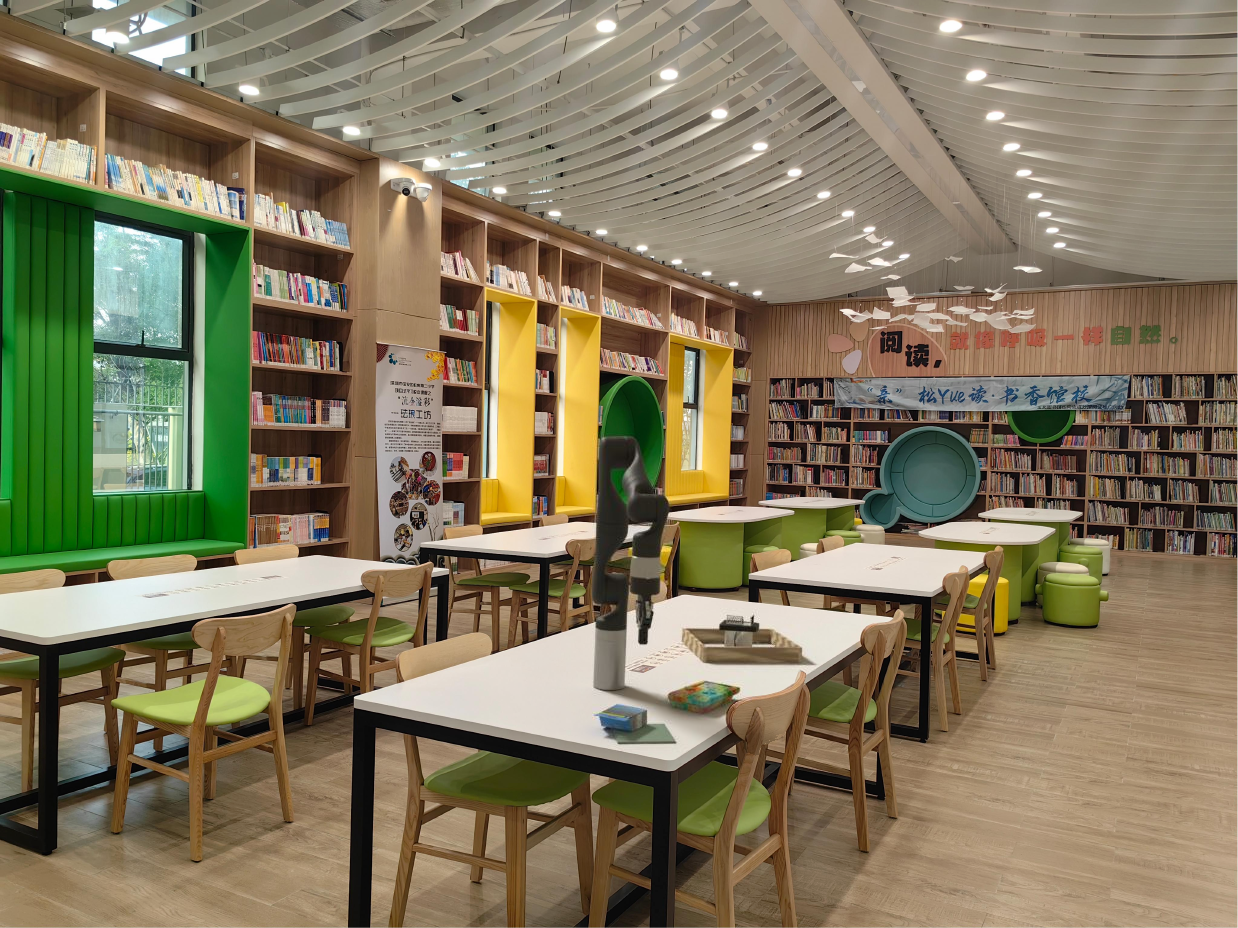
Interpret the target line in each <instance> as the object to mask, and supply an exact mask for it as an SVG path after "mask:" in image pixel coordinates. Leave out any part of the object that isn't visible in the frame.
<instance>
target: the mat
mask: <svg viewBox="0 0 1238 928" xmlns="http://www.w3.org/2000/svg"><path fill="white" fill-rule="evenodd" d="M610 729H611V732H612V735H613V737H614V738H615V740H616V742H617V744H620V745H621V744H676V743H677V740H676V739H675V738H674V736H673V735H672V733H671V732H670V730H669V729H668V726H667V725H666V724H665V723H647V724H646V725H644V726H642V727H640V728H638V729H636V730H635V731H633V732H630V731H625V730H620V729H614V728H610Z"/></svg>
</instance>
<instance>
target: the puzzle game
mask: <svg viewBox="0 0 1238 928" xmlns="http://www.w3.org/2000/svg"><path fill="white" fill-rule="evenodd" d="M740 692H741V687H740V686H735V685H729V684H724V683H719V682H714V681H708V680H701V681H698V682H696V683H692V684H690V685H687V686H684V687H682V688H679V689H677V690H672V691H670V692H669V693H667V700H668V701H669V703H670V704H671V706H672V707H673V708H676V709H681V710H686V711H689V712H690V711H691V712H695V713H700V714H705V713H708V712H710V711H713V710H714V709H717V708H718V707H721V706H723V705H725V704H728V703H729V702H731V701H732V699H733V697H734V696H735V695H737V694H739V693H740Z"/></svg>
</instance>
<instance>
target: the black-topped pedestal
mask: <svg viewBox="0 0 1238 928" xmlns="http://www.w3.org/2000/svg"><path fill="white" fill-rule="evenodd" d="M749 619H750V620H749V621H744V616H742V615H741V616H739V615H735V616H733V615H732V614H731V615H730V614H726V619H724V620H723V621H722V622H720V623H719V625H718V628H719V630H725V642H724V643H723V644H724V645H723V647H753V643H752V639H753V632H757V631H758V629H760V623H759V622H755V614H754V613H753V615H752V616H750V618H749Z"/></svg>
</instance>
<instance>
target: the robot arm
mask: <svg viewBox="0 0 1238 928" xmlns="http://www.w3.org/2000/svg"><path fill="white" fill-rule="evenodd" d="M612 470H613V471H614V470H625V472H624V474H623V476H622V480H621V481H622V482H621V483H622V489H623V490H624V493H625V495H626V498H627V503H626V504H625V501H624V500H623V498H622V497H621V495H620V494H619V492H618V489H616V486H615V483H614V482H613V479H612ZM597 497H598V498H597V506H596V507H597V508H596V509H597V510H596V520H595V522H596V523H595V553H594V554H595V556H594V564H593V571H592V581H591V582H592V583H591V599H592V601H593V603H594V604H595V605H600V606H603V605H604V606H616V608H614V609H613V610H612V611H610V612H608V613H605V614H602V615H600V616H597V618H596V619H595V629H594V630H595V631H594V632H595V633H594V656H593V657H594V660H593V682H592V683H593V685H592V686H593V687H594V688H595V689H599V690H604V691H617V690H622V689H624V688H625V685H626V683H625V682H626V681H625V680H626V658H627V656H626V655H627V631H628V608H629V607H628V605H629V595H630V593H631V594H633V595H637V599H635V601H634V606H635V618H636V619H635V622H636V624H637V629H638V632H637V633H638V634H637V637H638V638H637V642H638V644H639V645H641V646H642V645H645V646H646V645H648V643H649V640H648V639H649V630H650V629H651V628H652V622H653V619H654V614H655V612H654V602H653V601H652V597H653V596H657V595H659V594H660V593H661V576H662V575H661V573H662V571H661V569H662V567H661V566H662V565H661V546H662V545H661V544H662V543H661V542H662V537H663V533H664V529H665V527H666V526H665V525H666V523H667V520H668V517H669V513H670V503H669V500H668V498H667V496H665V495H663V494H661V493H660V494H659V493H658V494H657V493H655V490H654V487H653V485H652V482H651V481H650V479H649V477H648V475H647V471H646V468H645V464H644V457H643V455H642V451H641V447H640V443H639V442H638V440H637V439H636V438H635V437H633V436H627V435H625V436H623V435H622V436H619V435H617V436H604V437H602V438H601V439H600V441H599V445H598V495H597ZM630 520H631V521H633V522H635V523H652V524H651V525H650V527H649V528H648V529H646V530H643V531H639V532H636V533H634V534H633V536H632V549H631V562H630V571H629V576H628V574H626V573H616V572H614V573H612V572H611V573H610V572H606V569H607V566H608V564H609V562H610V561H611V559H612V558H613V556H614V555H615V554H616V552H617V551H618V550H619V548H620V547H621V546H622V545H623V543H624V542H625V541H626V539H627V537H628V533H629V521H630Z"/></svg>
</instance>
